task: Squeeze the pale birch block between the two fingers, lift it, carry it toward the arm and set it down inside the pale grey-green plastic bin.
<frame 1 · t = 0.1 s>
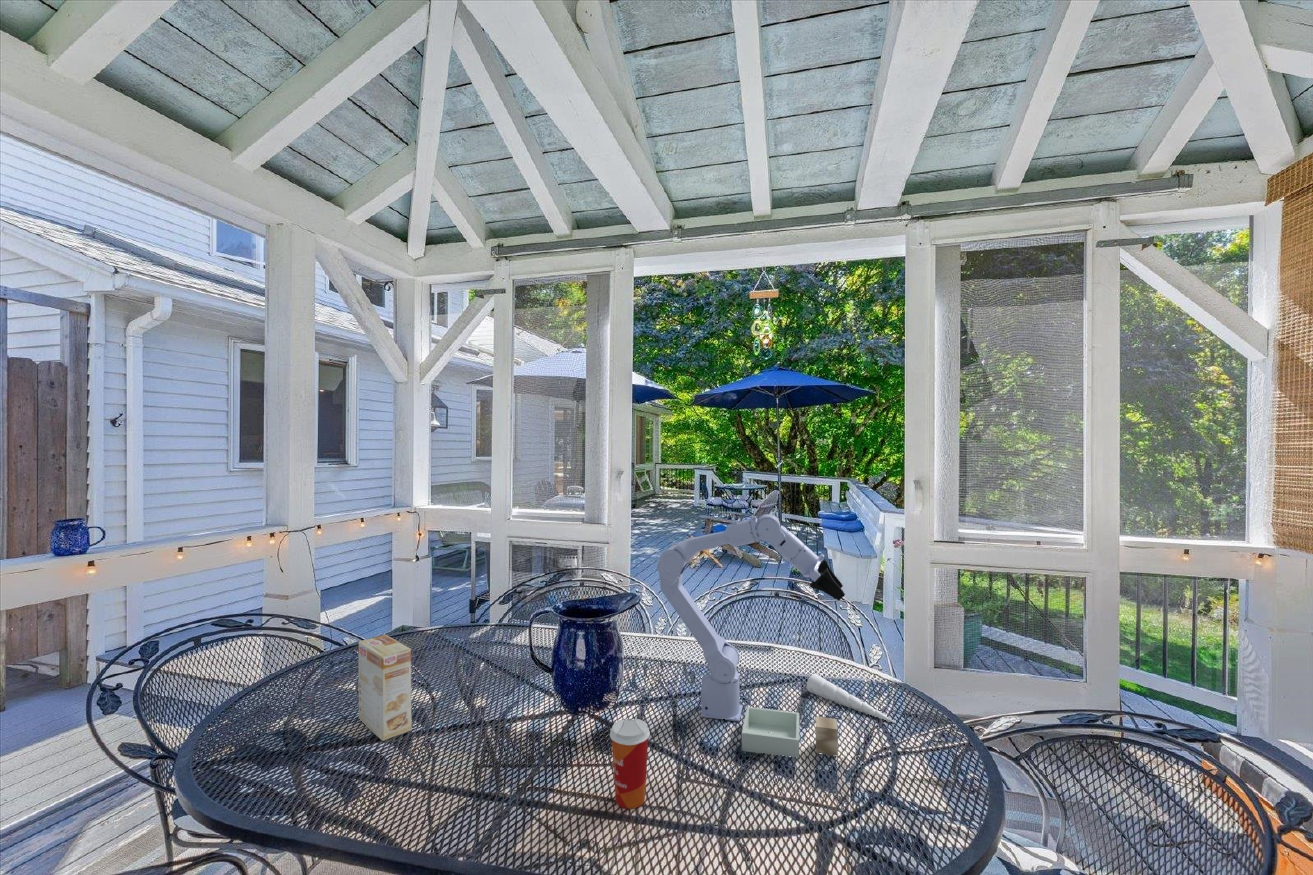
hand: (841, 593, 134), 32 cm above the table, tool tilted 50°, fingers open, 7 cm apart
paper cup: (630, 800, 108), on the table
birch block: (826, 749, 124), on the table
bin: (771, 739, 129), on the table
unicorn horn: (847, 706, 145), on the table
coffeecake box: (384, 725, 136), on the table
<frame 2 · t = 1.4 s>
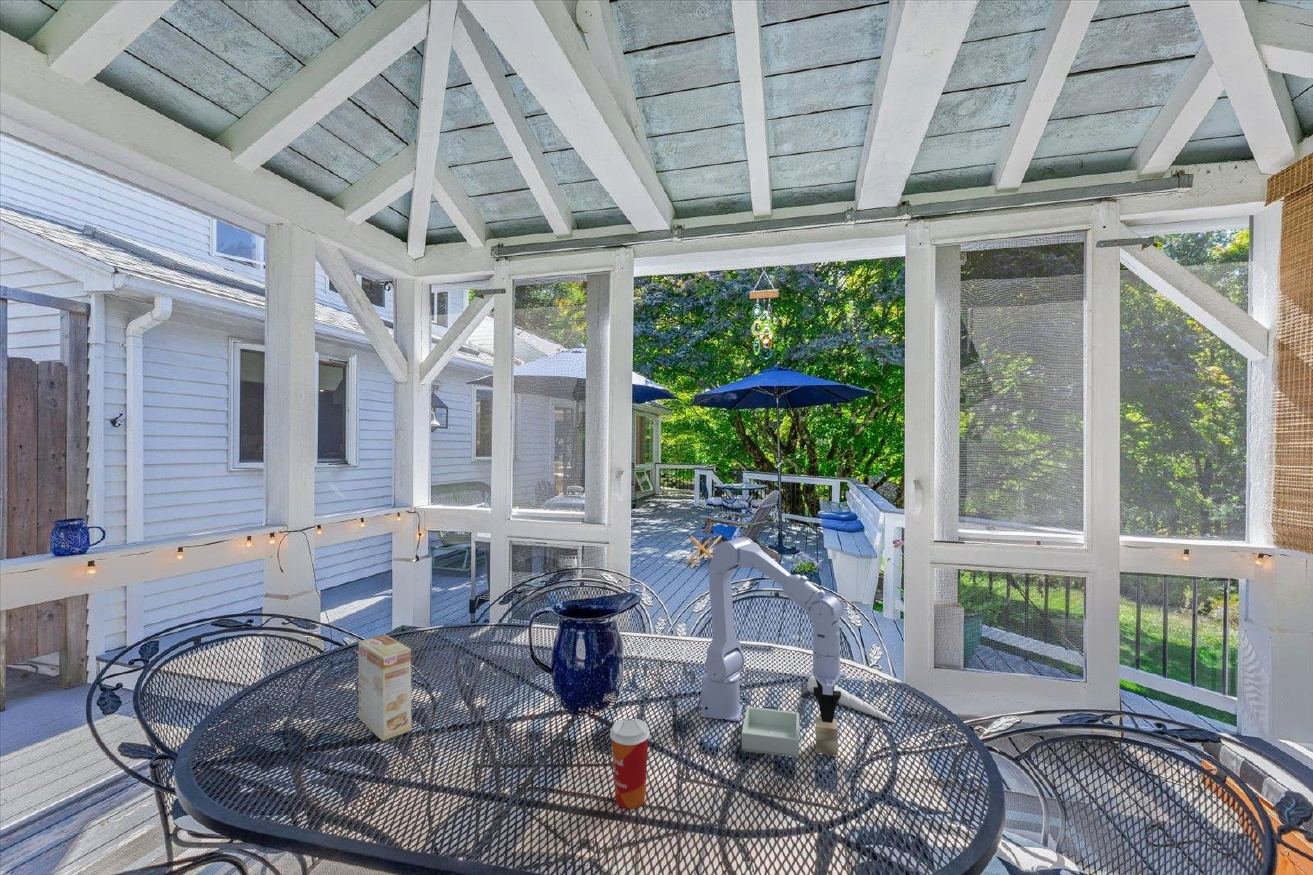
hand: (826, 713, 124), 8 cm above the table, tool pointing down, fingers open, 7 cm apart
nothing on the table moved.
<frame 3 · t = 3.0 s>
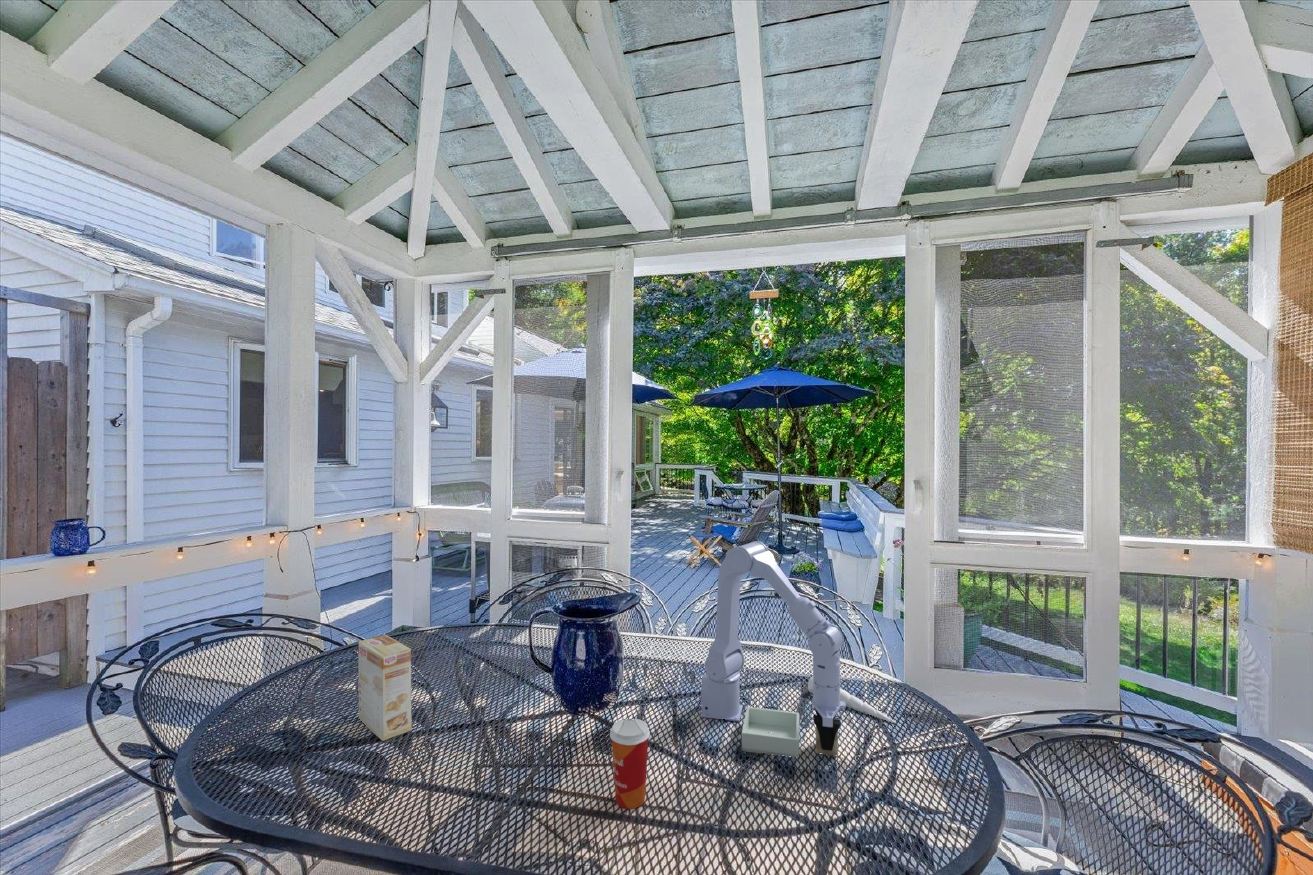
hand: (826, 743, 124), 1 cm above the table, tool pointing down, fingers closed on birch block, 4 cm apart
birch block: (826, 749, 124), on the table, touching gripper
everything else where it was.
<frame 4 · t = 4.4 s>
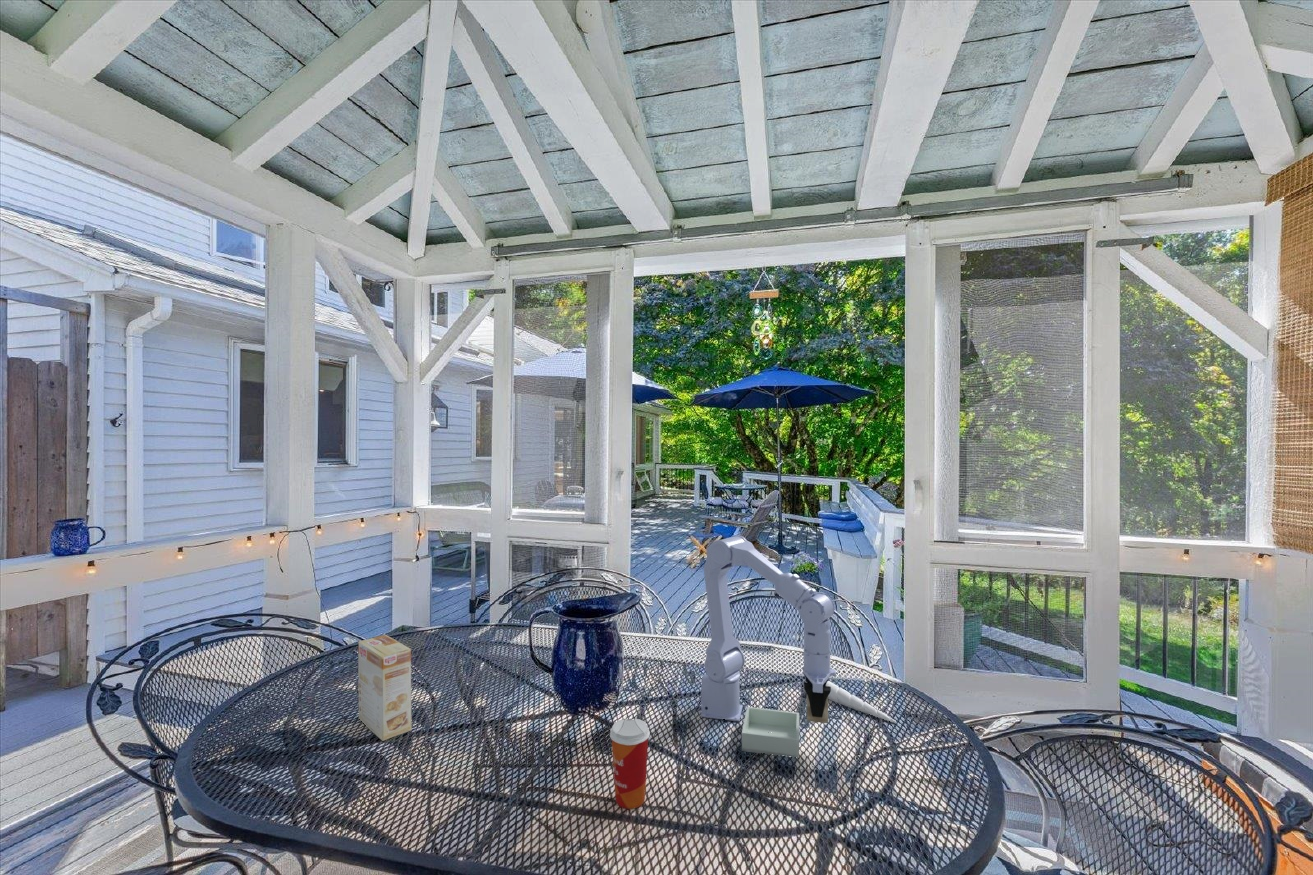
hand: (816, 710, 125), 8 cm above the table, tool pointing down, fingers closed on birch block, 4 cm apart
birch block: (817, 717, 125), point 7 cm above the table, touching gripper
everything else where it was.
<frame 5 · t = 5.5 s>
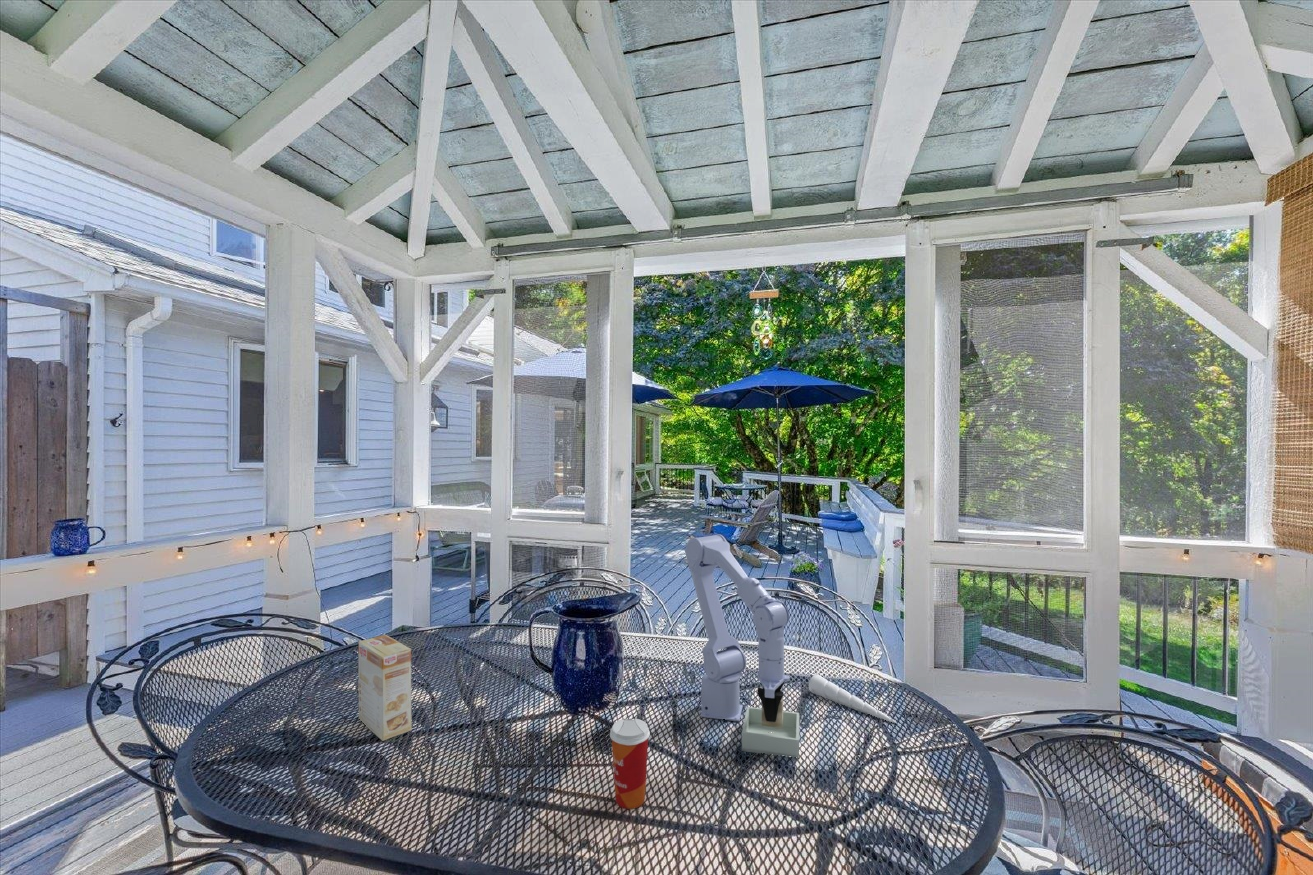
hand: (771, 715, 128), 6 cm above the table, tool pointing down, fingers closed on birch block, 4 cm apart
birch block: (772, 722, 128), point 4 cm above the table, touching gripper
everything else where it was.
when the fingers open (4 cm above the table, at t = 6.6 s): birch block drops 2 cm, resting on bin.
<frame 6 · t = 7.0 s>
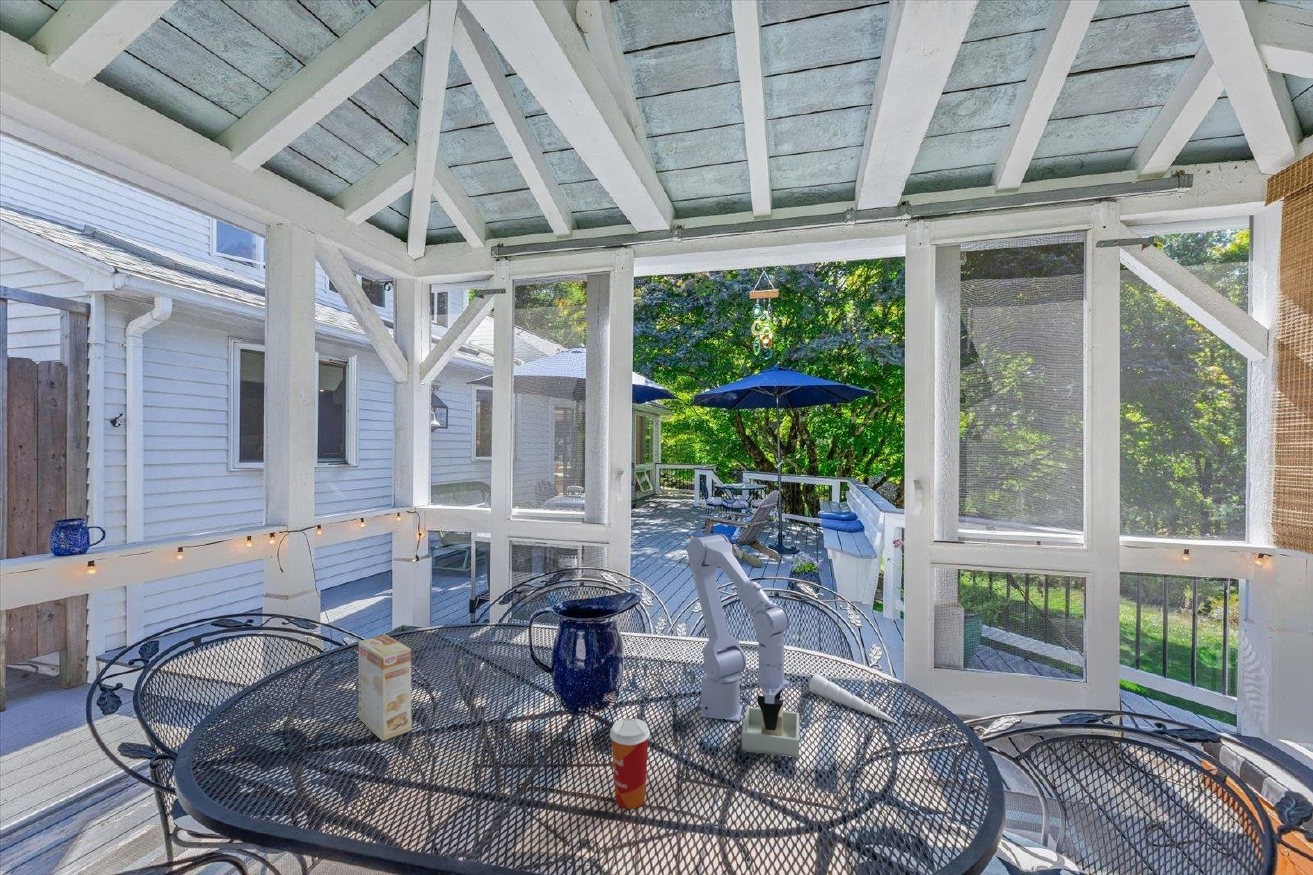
hand: (771, 720, 128), 4 cm above the table, tool pointing down, fingers open, 7 cm apart
birch block: (772, 737, 128), point 1 cm above the table, touching bin
everything else where it was.
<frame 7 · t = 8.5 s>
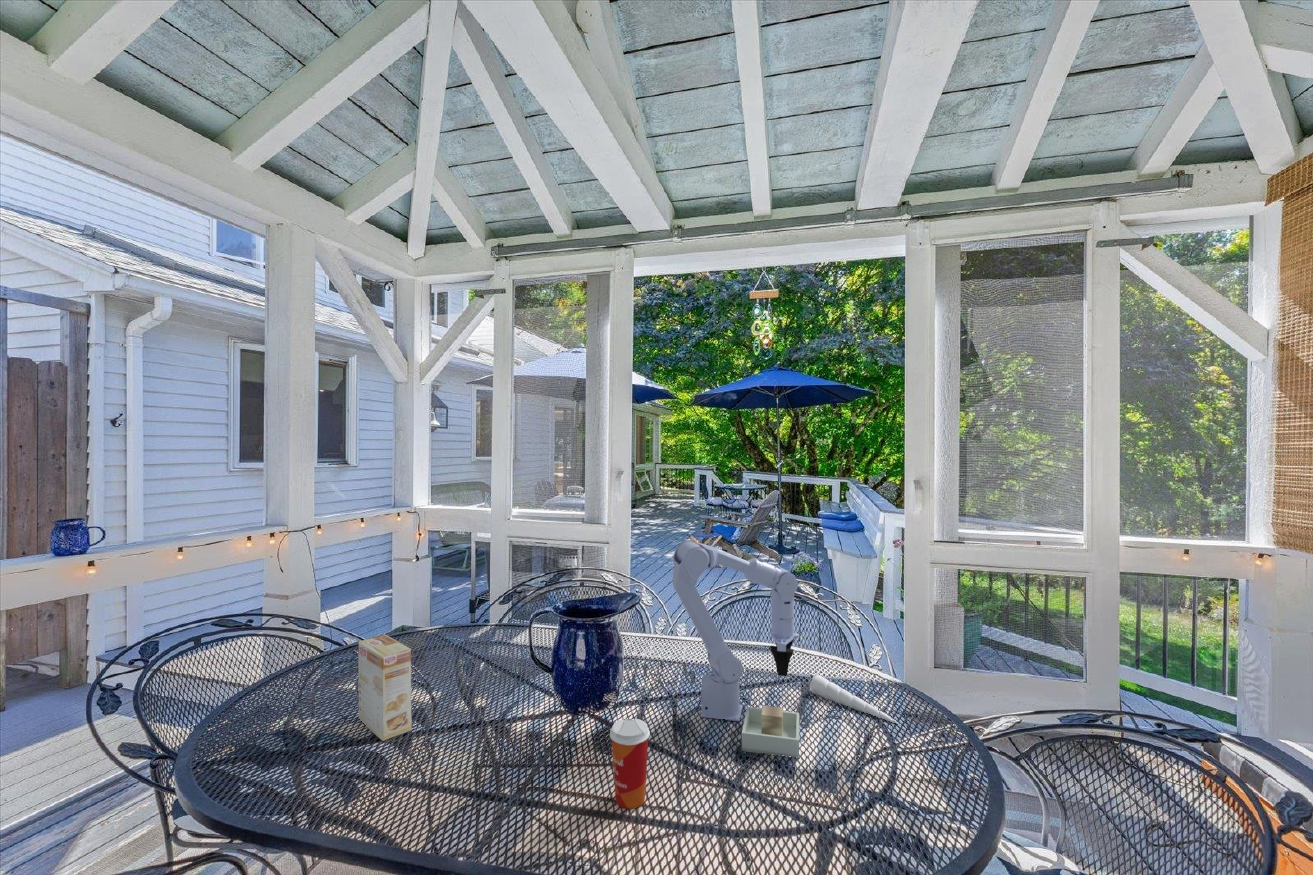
hand: (783, 669, 144), 9 cm above the table, tool pointing down, fingers open, 7 cm apart
nothing on the table moved.
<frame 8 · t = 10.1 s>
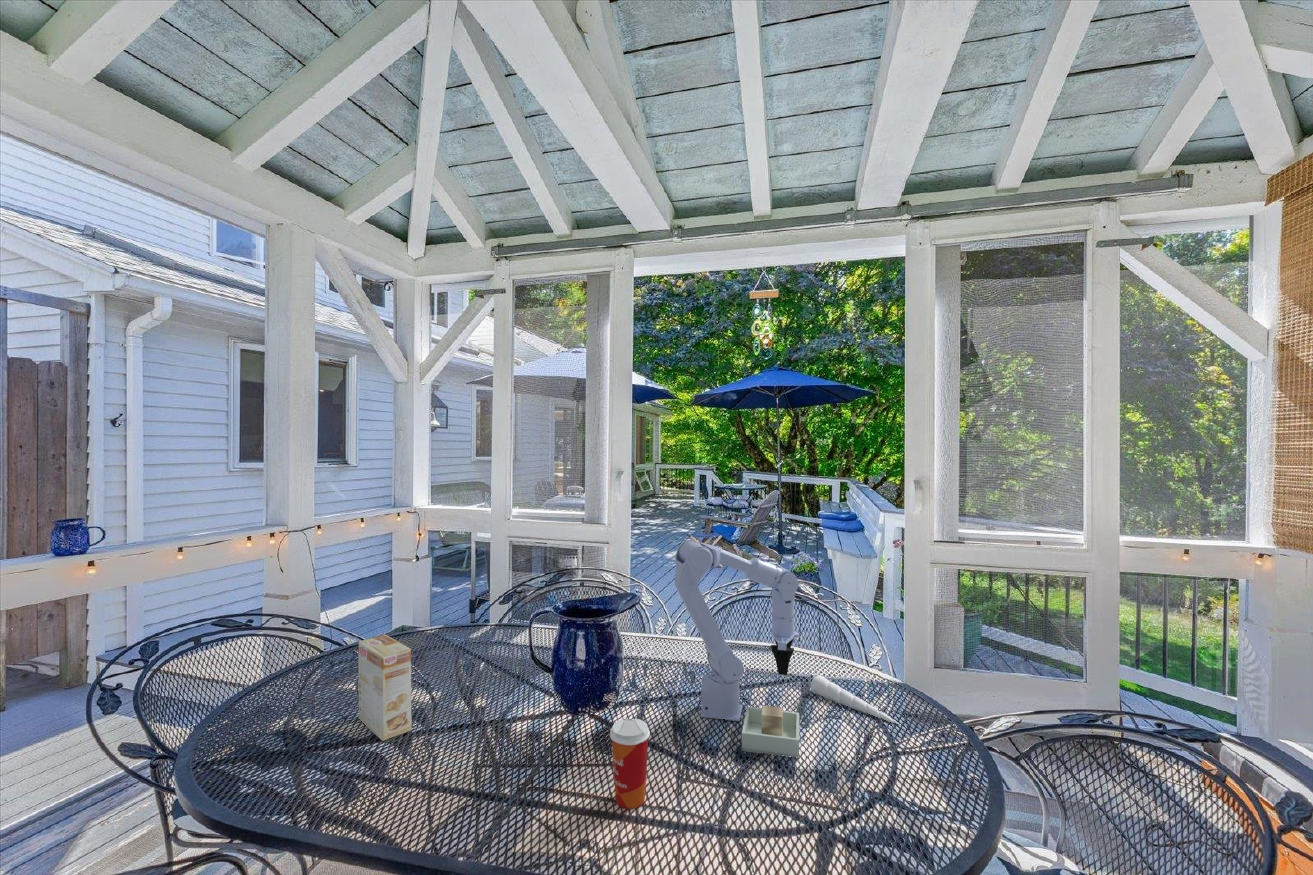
hand: (783, 667, 145), 9 cm above the table, tool pointing down, fingers open, 7 cm apart
at the end: birch block inside the target area on the bin (0.2 cm from its centre), point 0.6 cm above the bin's base; birch block tilted 0°; the gripper is holding nothing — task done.
